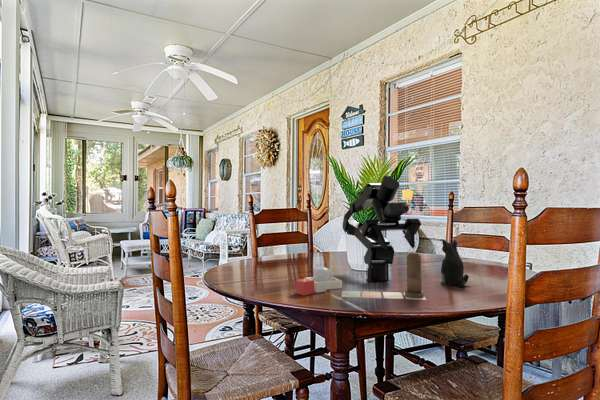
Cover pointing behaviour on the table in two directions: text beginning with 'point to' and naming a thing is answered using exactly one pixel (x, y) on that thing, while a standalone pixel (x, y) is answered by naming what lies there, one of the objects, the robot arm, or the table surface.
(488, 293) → the table surface
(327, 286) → the base
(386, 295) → the track board
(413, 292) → the pawn
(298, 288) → the red die
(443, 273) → the figurine
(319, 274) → the dome
